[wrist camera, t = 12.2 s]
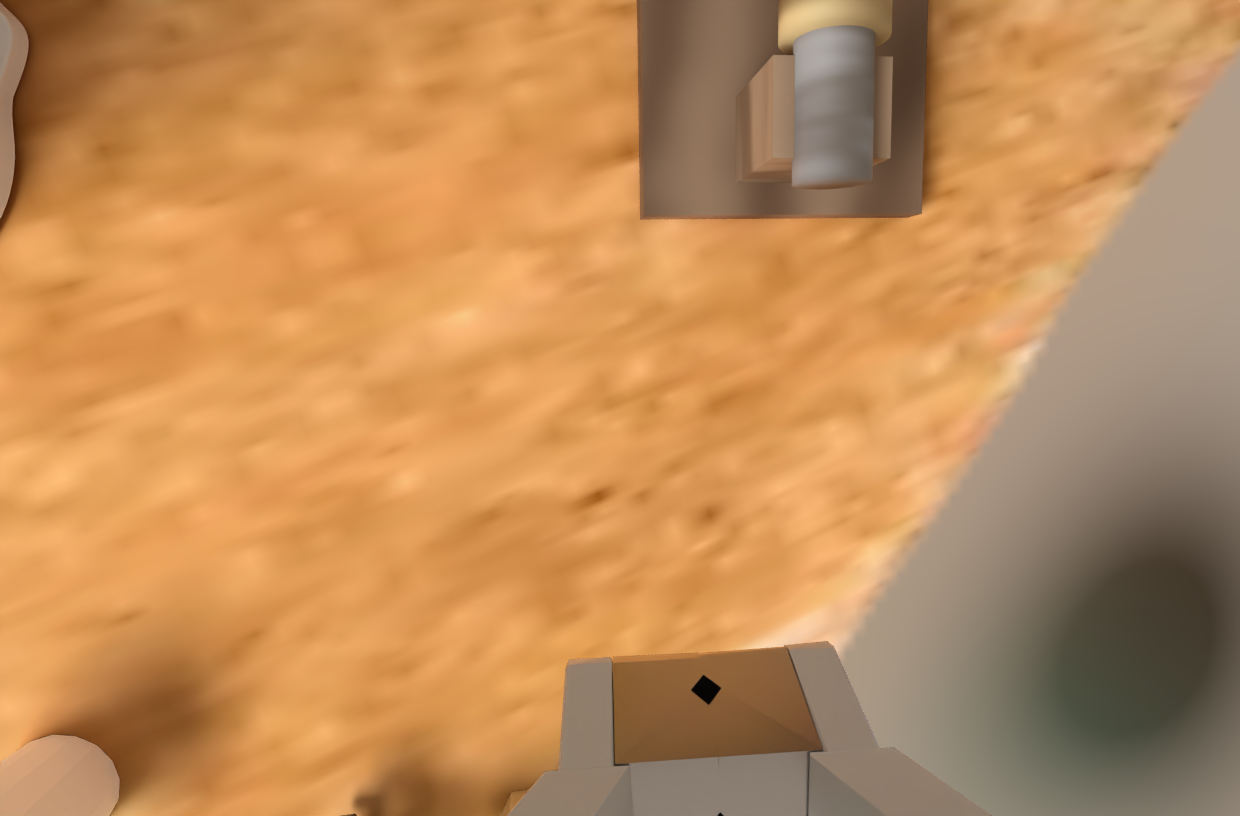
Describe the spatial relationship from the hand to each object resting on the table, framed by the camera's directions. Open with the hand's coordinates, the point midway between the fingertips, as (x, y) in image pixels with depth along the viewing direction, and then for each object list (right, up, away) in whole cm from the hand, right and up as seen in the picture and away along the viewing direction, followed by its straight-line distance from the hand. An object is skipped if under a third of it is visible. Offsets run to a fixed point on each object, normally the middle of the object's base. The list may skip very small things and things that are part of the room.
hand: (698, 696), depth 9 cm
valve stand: (+7, +23, +29) cm, 38 cm away
